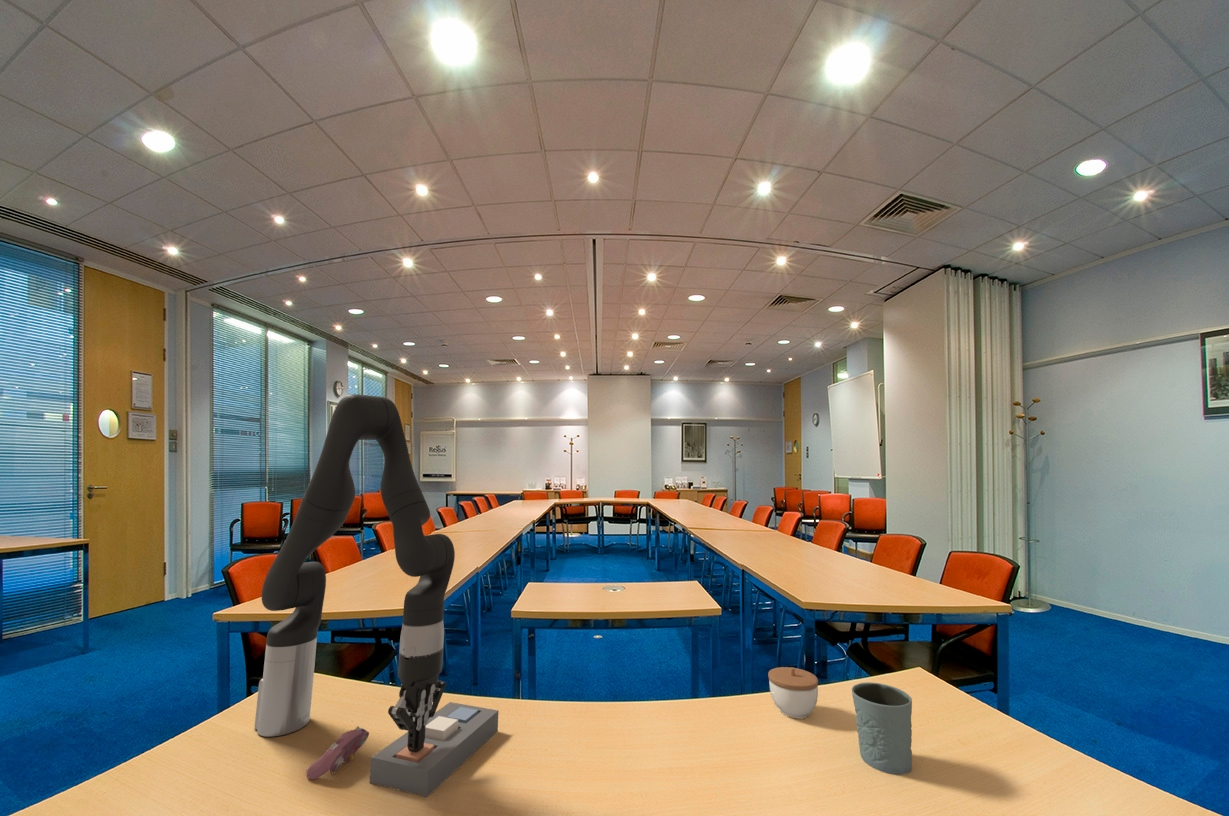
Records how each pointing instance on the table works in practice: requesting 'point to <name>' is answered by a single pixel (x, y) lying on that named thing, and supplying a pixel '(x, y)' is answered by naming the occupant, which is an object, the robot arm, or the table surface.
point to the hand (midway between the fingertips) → (415, 749)
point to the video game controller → (338, 753)
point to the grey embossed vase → (884, 726)
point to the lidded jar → (793, 691)
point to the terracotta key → (414, 756)
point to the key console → (433, 754)
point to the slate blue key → (463, 714)
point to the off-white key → (441, 728)
